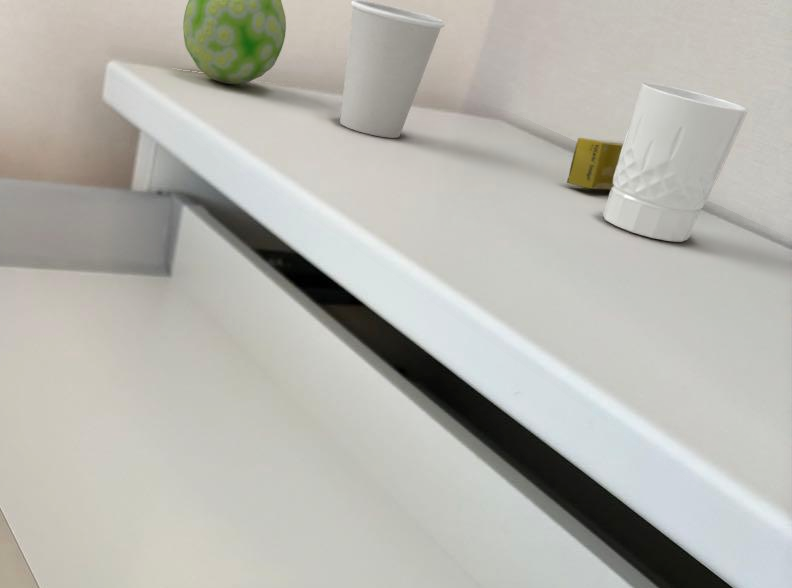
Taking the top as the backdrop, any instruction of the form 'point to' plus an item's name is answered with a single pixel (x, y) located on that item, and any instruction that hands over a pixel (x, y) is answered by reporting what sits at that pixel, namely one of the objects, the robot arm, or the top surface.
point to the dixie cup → (385, 66)
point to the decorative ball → (234, 37)
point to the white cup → (670, 160)
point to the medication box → (594, 163)
